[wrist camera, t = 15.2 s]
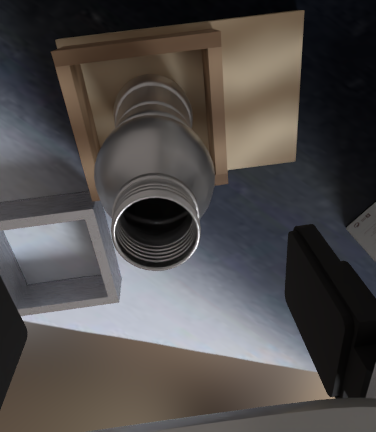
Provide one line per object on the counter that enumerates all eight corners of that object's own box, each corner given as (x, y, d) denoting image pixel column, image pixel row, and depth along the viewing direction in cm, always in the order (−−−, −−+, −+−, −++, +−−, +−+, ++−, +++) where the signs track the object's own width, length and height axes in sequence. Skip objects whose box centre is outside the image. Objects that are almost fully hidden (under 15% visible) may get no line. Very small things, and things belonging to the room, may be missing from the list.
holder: (-19, 205, 36) (-37, 226, 32) (98, 189, 36) (93, 208, 33) (21, 292, 42) (10, 317, 39) (121, 278, 42) (119, 302, 39)
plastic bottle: (176, 58, 29) (212, 129, 12) (198, 133, 33) (251, 273, 15) (103, 83, 30) (38, 186, 13) (133, 155, 33) (114, 313, 16)
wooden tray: (59, 38, 29) (41, 44, 24) (297, 10, 30) (325, 10, 25) (96, 181, 36) (88, 207, 31) (290, 155, 36) (311, 177, 32)
